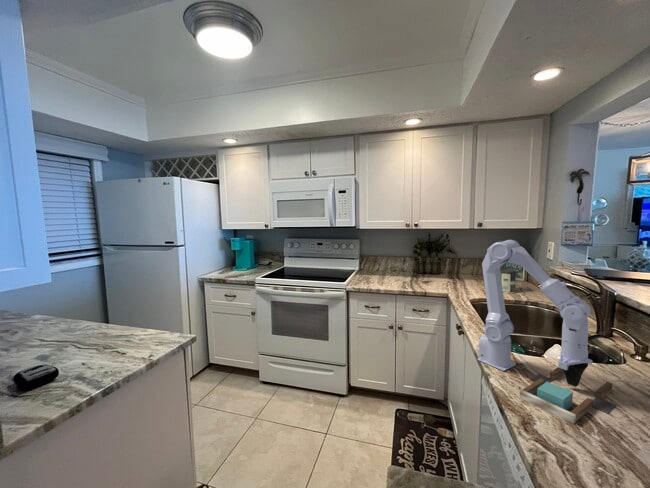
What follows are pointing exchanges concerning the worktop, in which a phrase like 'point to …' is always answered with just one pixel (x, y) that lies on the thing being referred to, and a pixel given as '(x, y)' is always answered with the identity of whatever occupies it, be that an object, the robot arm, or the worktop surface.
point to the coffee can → (508, 280)
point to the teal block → (555, 395)
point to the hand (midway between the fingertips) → (572, 384)
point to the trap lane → (564, 414)
